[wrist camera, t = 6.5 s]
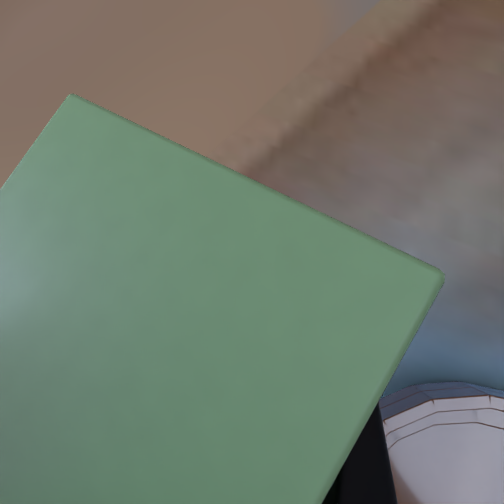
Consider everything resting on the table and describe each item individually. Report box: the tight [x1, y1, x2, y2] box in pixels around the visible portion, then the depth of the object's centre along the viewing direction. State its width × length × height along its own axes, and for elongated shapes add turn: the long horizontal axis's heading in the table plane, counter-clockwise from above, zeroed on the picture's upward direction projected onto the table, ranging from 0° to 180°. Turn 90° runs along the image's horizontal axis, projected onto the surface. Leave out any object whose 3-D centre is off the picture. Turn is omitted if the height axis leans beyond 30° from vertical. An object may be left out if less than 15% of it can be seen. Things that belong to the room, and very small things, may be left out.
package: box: [0, 94, 445, 504], centre depth 10 cm, size 6×6×13 cm
